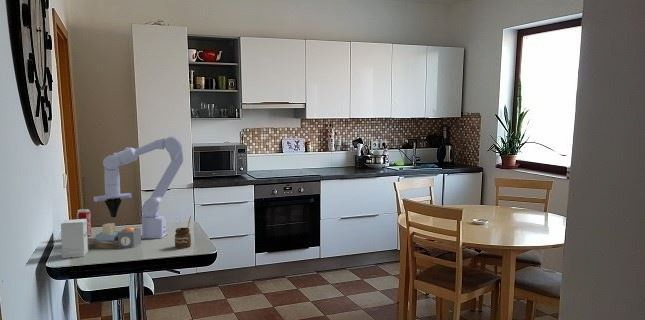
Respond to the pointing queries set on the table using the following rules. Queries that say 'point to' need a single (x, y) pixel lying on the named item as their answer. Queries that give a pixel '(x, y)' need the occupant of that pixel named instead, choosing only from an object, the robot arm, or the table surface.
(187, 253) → the table surface
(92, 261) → the table surface
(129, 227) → the button
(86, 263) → the table surface
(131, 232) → the cabinet
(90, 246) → the rail track
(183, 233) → the brown jar with straw
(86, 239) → the supplement box
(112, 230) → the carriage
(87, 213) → the soda can
